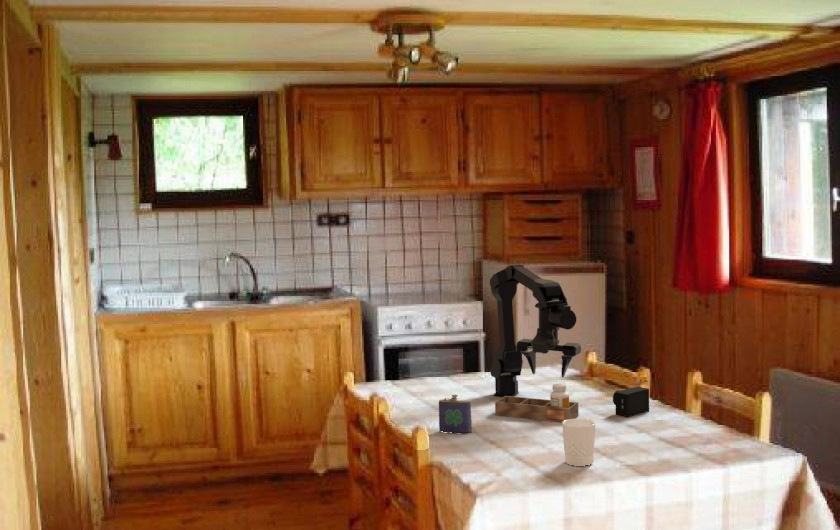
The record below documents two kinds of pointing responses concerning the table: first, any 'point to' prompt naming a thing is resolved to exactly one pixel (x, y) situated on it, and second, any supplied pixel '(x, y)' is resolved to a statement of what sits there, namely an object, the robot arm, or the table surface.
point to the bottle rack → (534, 409)
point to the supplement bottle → (559, 396)
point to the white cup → (579, 441)
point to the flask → (455, 415)
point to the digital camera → (631, 401)
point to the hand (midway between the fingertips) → (548, 375)
